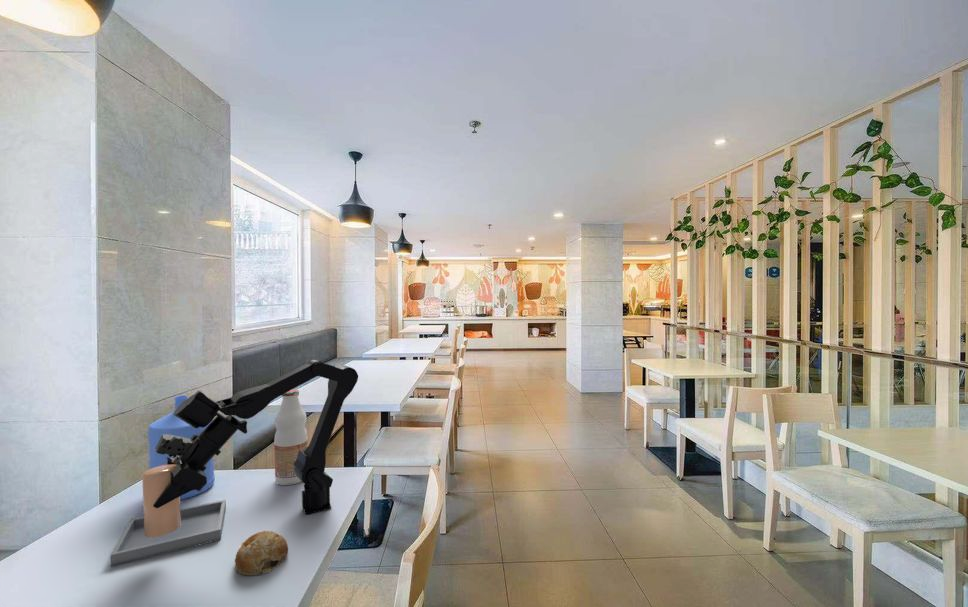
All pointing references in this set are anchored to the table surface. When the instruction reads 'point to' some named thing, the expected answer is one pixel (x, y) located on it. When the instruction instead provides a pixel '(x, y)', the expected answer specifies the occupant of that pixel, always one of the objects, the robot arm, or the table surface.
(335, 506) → the table surface
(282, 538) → the bread roll
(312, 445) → the robot arm
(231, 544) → the table surface
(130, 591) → the table surface
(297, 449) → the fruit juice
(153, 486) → the peach rounded cylinder
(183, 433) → the water jug
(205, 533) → the grey tray
